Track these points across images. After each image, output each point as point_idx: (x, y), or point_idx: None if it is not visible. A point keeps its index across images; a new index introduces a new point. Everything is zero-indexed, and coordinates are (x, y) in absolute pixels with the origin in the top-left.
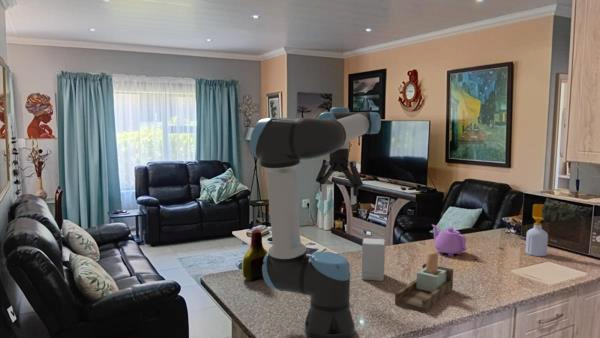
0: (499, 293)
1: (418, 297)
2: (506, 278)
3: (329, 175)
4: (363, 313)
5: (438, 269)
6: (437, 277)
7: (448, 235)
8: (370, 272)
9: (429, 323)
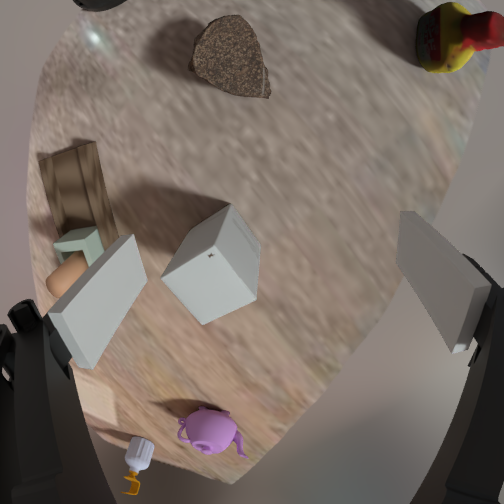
0: None
1: (76, 189)
2: None
3: (451, 439)
4: (109, 60)
5: None
6: (53, 243)
7: (200, 436)
8: (208, 220)
9: (32, 129)
